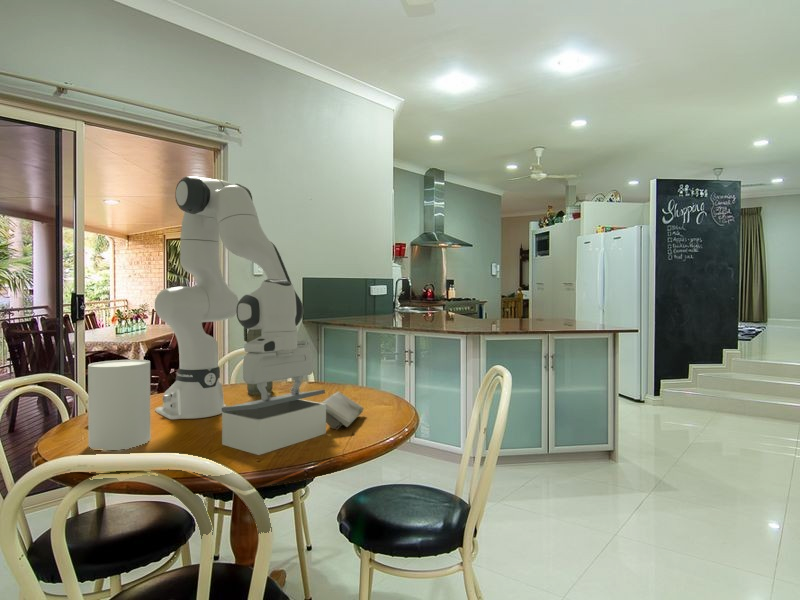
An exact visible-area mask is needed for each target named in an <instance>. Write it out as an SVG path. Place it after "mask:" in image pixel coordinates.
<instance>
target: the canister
mask: <svg viewBox="0 0 800 600" xmlns="http://www.w3.org/2000/svg"><path fill="white" fill-rule="evenodd" d="M87 384H88V385H87V395H88V396H87V398H88V399H87V400H88V401H87V404H88V406H87V407H88V410H87V411H88V413H87V414H88V416H87V417H88V419H87V421H88V424H87V426H88V435H87V436H88V448H89V447H90V448H92V449H103V450H118V451H121V450H120V449H125V450H129V448H131V449H133V448H132V447H135V448H137V447H136V446H138V447H140V446H139V445H141V446H143V445H142V444H144V445H145V443H146V444H147V443H149V442H150V441H151V437H152V436H151V435H152V433H151V361H150V360H148V359H147V360H146V359H119V360H118V359H115V360H104V361H98V362H92V363H91V362H90V363H88V365H87ZM148 441H149V442H148Z"/></svg>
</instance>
